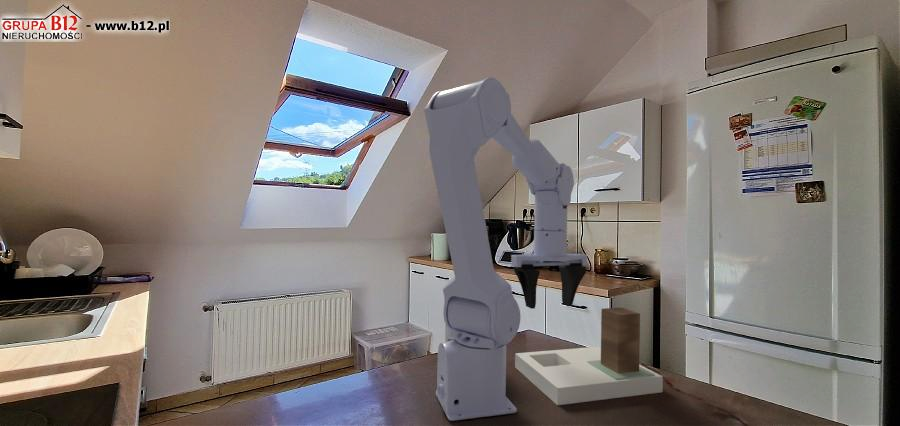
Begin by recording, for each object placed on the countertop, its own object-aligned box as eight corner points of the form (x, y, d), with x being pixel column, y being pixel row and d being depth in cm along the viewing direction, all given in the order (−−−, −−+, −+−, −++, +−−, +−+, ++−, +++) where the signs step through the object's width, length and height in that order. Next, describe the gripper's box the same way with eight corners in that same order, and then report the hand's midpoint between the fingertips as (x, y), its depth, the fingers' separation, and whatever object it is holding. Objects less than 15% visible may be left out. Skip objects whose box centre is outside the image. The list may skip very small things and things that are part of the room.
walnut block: (617, 373, 59) (618, 314, 59) (600, 363, 63) (601, 308, 63) (639, 371, 60) (640, 313, 60) (621, 361, 64) (622, 307, 64)
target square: (615, 379, 57) (615, 378, 57) (587, 362, 64) (587, 361, 64) (654, 375, 59) (654, 374, 59) (623, 359, 66) (623, 357, 66)
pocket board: (557, 405, 54) (557, 388, 54) (514, 367, 68) (515, 353, 68) (662, 392, 59) (662, 376, 59) (603, 358, 73) (603, 346, 73)
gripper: (525, 231, 64) (524, 314, 64) (598, 231, 68) (597, 308, 68) (506, 229, 70) (505, 304, 70) (574, 230, 75) (573, 300, 75)
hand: (549, 306), depth 70 cm, fingers open, 7 cm apart
